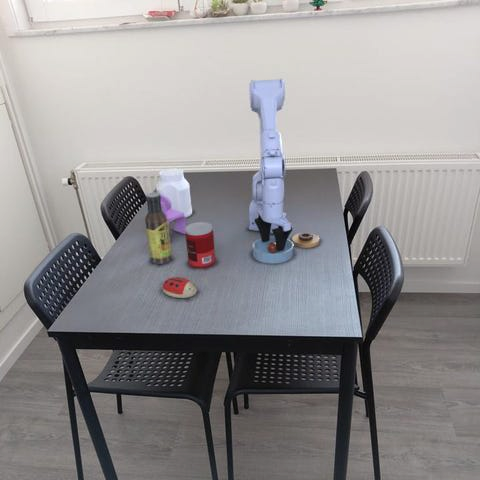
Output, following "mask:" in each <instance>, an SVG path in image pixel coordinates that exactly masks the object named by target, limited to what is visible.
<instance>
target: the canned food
mask: <svg viewBox="0 0 480 480" xmlns="http://www.w3.org/2000/svg"><path fill="white" fill-rule="evenodd" d="M184 235H185V243H186V251H187V259H188V260H187V261H188V264H189V266H190V267H192V268H194V269H207V268H211V267H212V266H214V264H215V262H216V249H215V236H214V227H213V224H211V223H210V222H206V221H199V222H193V223H190V224H188V225H186V228H185V234H184Z"/></svg>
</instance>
